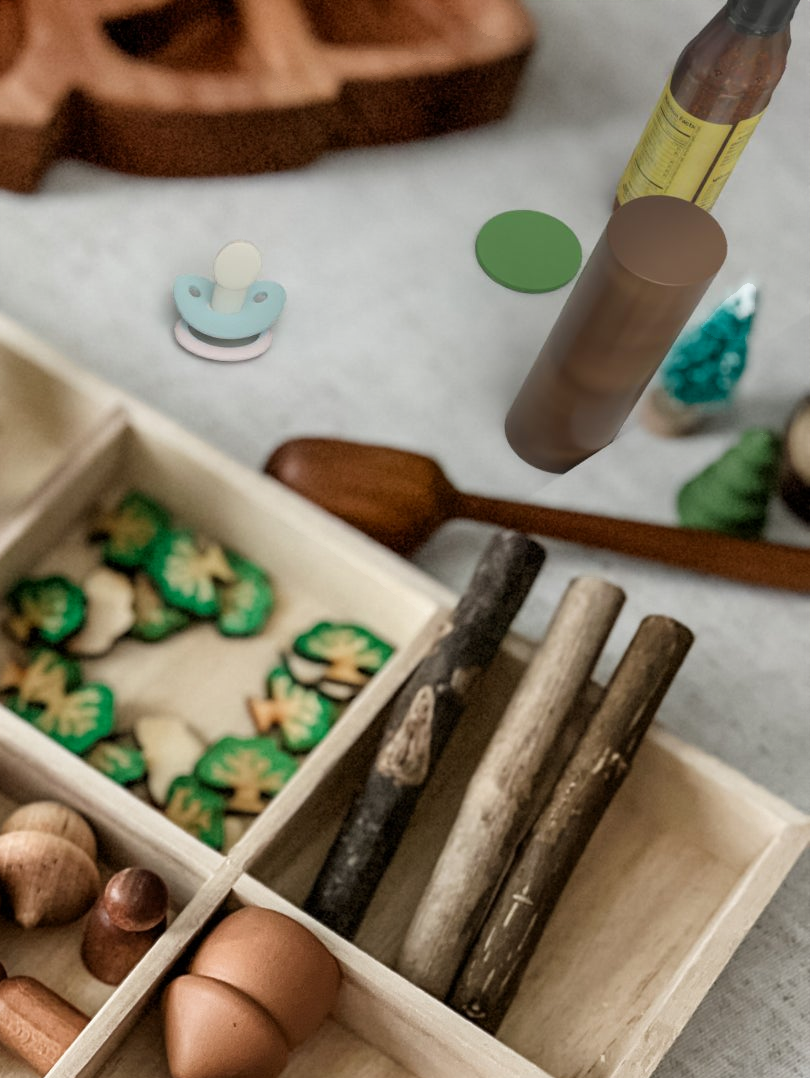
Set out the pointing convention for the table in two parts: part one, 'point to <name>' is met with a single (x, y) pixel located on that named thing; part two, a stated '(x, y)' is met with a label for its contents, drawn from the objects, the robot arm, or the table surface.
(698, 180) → the sauce bottle
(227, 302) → the pacifier
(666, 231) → the brown cylinder
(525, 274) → the coaster
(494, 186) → the table surface
